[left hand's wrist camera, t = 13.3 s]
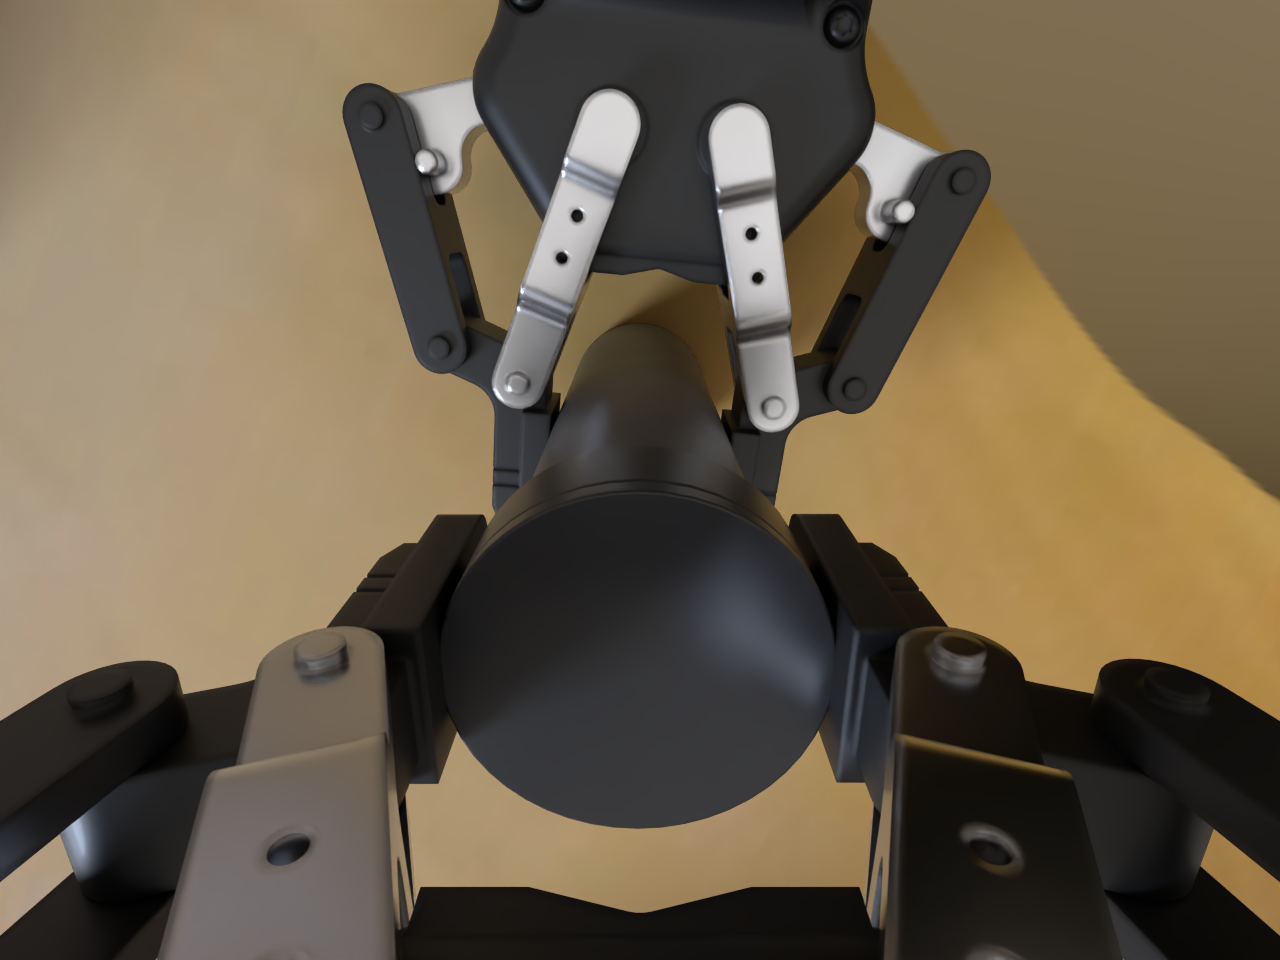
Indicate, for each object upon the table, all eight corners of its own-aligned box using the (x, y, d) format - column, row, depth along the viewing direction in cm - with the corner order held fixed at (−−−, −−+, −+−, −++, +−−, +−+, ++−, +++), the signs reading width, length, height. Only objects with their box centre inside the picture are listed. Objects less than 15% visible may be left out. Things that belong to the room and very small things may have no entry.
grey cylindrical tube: (650, 470, 25) (665, 833, 10) (550, 398, 25) (410, 681, 10) (727, 375, 24) (870, 630, 9) (626, 296, 23) (603, 435, 8)
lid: (666, 790, 12) (670, 883, 10) (405, 631, 11) (362, 707, 9) (877, 576, 10) (922, 645, 9) (602, 371, 9) (594, 403, 8)
